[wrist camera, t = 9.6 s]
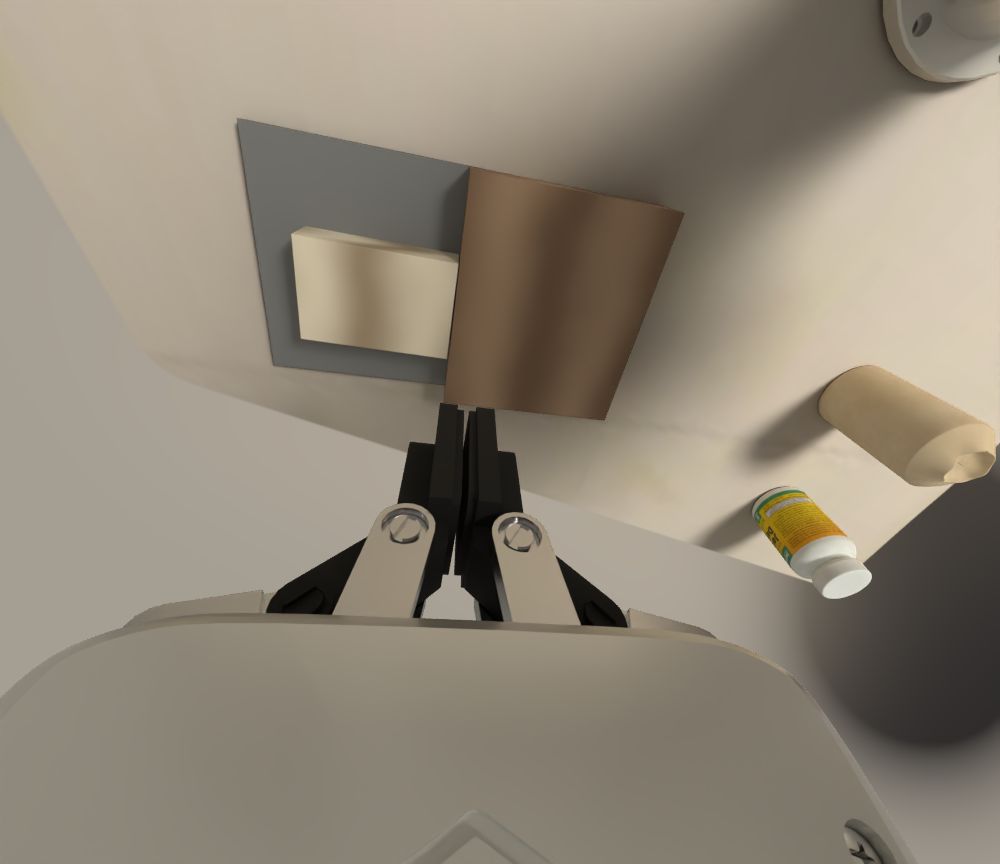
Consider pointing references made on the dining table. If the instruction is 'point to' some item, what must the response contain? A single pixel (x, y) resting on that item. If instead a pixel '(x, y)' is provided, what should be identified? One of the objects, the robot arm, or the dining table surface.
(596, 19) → the dining table surface
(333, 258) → the tile
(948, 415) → the candle
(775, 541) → the supplement bottle
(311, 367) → the mat
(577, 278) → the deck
